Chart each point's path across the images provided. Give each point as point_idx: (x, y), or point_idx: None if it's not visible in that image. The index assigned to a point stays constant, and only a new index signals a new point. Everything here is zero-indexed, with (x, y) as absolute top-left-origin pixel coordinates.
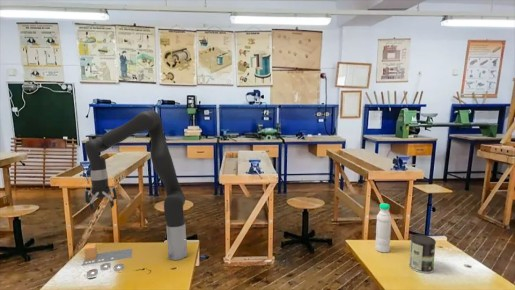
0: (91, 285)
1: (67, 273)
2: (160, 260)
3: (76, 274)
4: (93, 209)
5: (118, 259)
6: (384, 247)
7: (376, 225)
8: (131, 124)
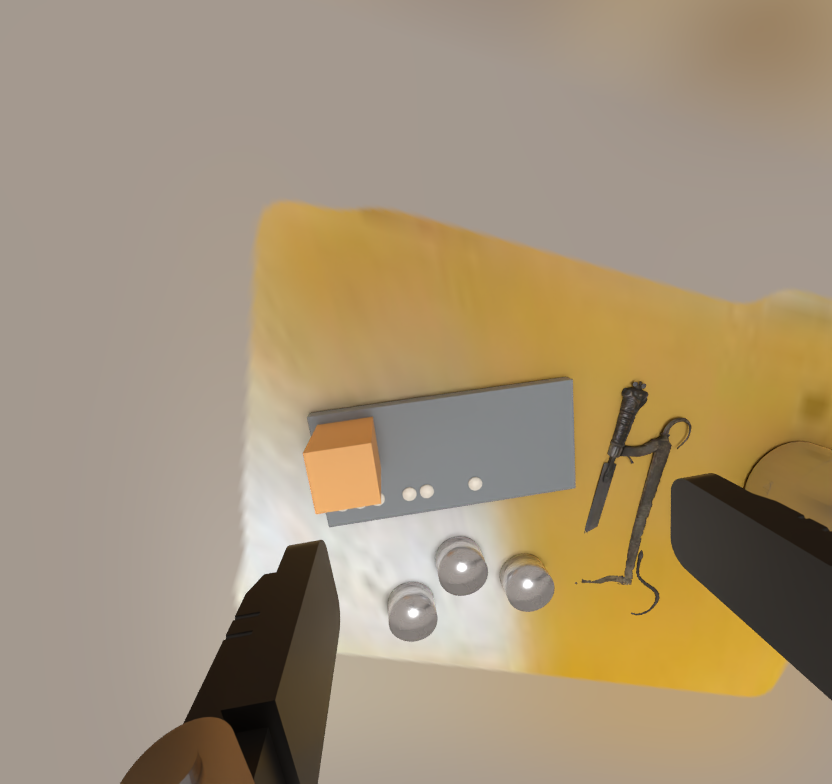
0: (427, 662)
1: (275, 559)
2: None
3: None
4: (332, 635)
5: (509, 497)
6: None
7: None
8: None
